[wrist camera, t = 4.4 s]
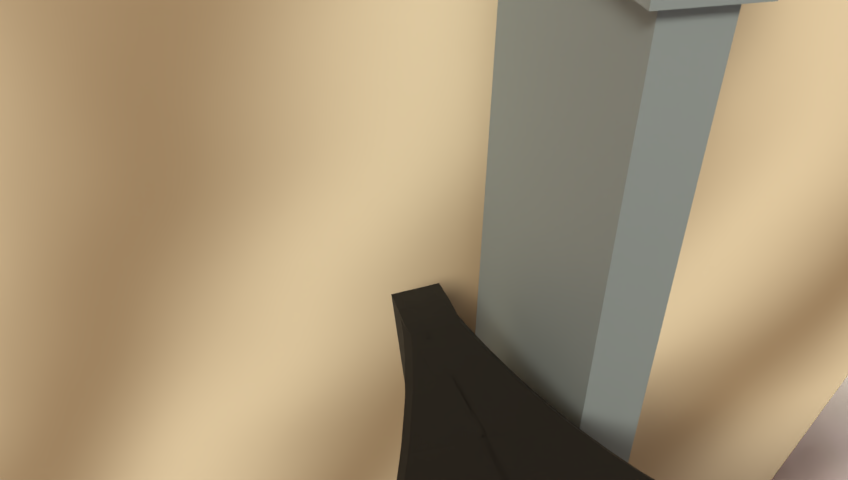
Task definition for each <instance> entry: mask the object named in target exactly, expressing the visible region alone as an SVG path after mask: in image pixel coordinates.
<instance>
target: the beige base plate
mask: <svg viewBox="0 0 848 480" xmlns="http://www.w3.org/2000/svg"><path fill="white" fill-rule="evenodd" d="M497 7H498V0H0V480H397V473H398V466H399V459H400V451H401V441H402V429H403V416H404V404H405V382H404V375H403V368H402V362H401V355H400V349H399V342H398V336H397V329H396V322H395V316H394V309H393V303H392V296H391V294H395V293H399V292H403V291H408V290H412V289H416V288H420V287H424V286H429V285H433V284H437V283H439V284H440V285H441V287H442V288H443V290H444V292H445V293H446V295H447V296H448V298H449V300H450V301H451V303H452V305H453V307H454V309H455V310H456V312H457V315H458V316H459V317H460V318H461V319H462V320H463V321H464V322H465V324H466V325H467V326H468V327H469V328H470V329H471V330H472V331H473V332H474V333H475V330H476V315H477V300H478V286H479V271H480V256H481V242H482V227H483V212H484V198H485V183H486V168H487V154H488V139H489V124H490V110H491V95H492V80H493V66H494V51H495V36H496V22H497ZM847 375H848V0H778V1H773V2H761V3H748V4H741V9H740V13H739V17H738V21H737V25H736V29H735V33H734V37H733V41H732V45H731V49H730V53H729V57H728V61H727V65H726V69H725V73H724V77H723V81H722V85H721V89H720V93H719V97H718V101H717V106H716V110H715V114H714V118H713V122H712V126H711V130H710V134H709V138H708V142H707V146H706V150H705V154H704V158H703V162H702V166H701V170H700V174H699V178H698V182H697V186H696V190H695V194H694V198H693V202H692V207H691V211H690V215H689V219H688V223H687V227H686V231H685V235H684V239H683V243H682V247H681V251H680V255H679V259H678V263H677V267H676V271H675V275H674V279H673V283H672V287H671V291H670V295H669V299H668V303H667V308H666V312H665V316H664V320H663V324H662V328H661V332H660V336H659V340H658V344H657V348H656V352H655V356H654V360H653V364H652V368H651V372H650V376H649V380H648V384H647V388H646V392H645V396H644V400H643V404H642V409H641V413H640V417H639V421H638V425H637V429H636V433H635V437H634V441H633V445H632V449H631V453H630V457H629V461H628V463H629V464H631V465H632V466H634V467H635V468H637V469H638V470H640V471H641V472H643V473H644V474H646V475H648V476H650V477H651V478H653V479H655V480H772V478H773V477H774V475H775V474H776V473H777V471H778V470H779V469H780V467H781V466H782V464H783V463H784V462H785V460H786V459H787V458H788V456H789V455H790V453H791V452H792V451H793V449H794V448H795V447H796V445H797V444H798V443H799V441H800V440H801V438H802V437H803V436H804V434H805V433H806V432H807V430H808V429H809V427H810V426H811V425H812V423H813V422H814V421H815V419H816V418H817V416H818V415H819V414H820V412H821V411H822V410H823V408H824V407H825V405H826V404H827V403H828V401H829V400H830V399H831V397H832V396H833V394H834V393H835V392H836V390H837V389H838V388H839V386H840V385H841V384H842V382H843V381H844V379H845V378H846V377H847Z"/></svg>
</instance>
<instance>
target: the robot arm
mask: <svg viewBox="0 0 848 480" xmlns="http://www.w3.org/2000/svg"><path fill="white" fill-rule="evenodd" d="M391 296H392V303H393V309H394V316H395V322H396V329H397V336H398V342H399V349H400V355H401V362H402V368H403V375H404V382H405V404H404V416H403V429H402V441H401V451H400V459H399V466H398V473H397V480H655V479H653V478H651V477H650V476H648V475H646V474H644V473H643V472H641V471H640V470H638V469H637V468H635V467H634V466H632V465H631V464H629V463H628V462H626V461H625V460H623V459H622V458H620V457H619V456H617V455H616V454H614V453H613V452H611V451H610V450H608V449H607V448H606V447H604V446H603V445H601V444H600V443H599V442H597V441H596V440H595V439H593V438H592V437H590V436H589V435H588V434H586V433H585V432H584V431H582V430H581V429H580V428H578V427H577V426H576V425H574V424H573V423H572V422H571V421H569V420H568V419H567V418H566V417H564V416H563V415H562V414H561V413H559V412H558V411H557V410H556V409H554V408H553V407H552V406H551V405H550V404H549V403H547V402H546V401H545V400H544V399H543V398H542V397H540V396H539V395H538V394H537V393H536V392H534V391H533V390H532V389H531V388H530V387H529V386H528V385H527V384H526V383H524V382H523V381H522V380H521V379H520V378H519V377H518V376H517V375H516V374H515V373H514V372H513V371H512V370H511V369H509V368H508V367H507V366H506V365H505V364H504V363H503V362H502V361H501V360H500V359H499V358H498V357H497V356H496V355H495V354H494V353H493V352H492V351H491V350H490V349H489V348H488V347H487V346H486V345H485V344H484V343H483V342H482V341H481V340H480V339H479V338H478V337H477V336H476V334H475V333H474V332H473V331H472V330H471V329H470V328H469V327H468V326H467V325H466V324H465V322H464V321H463V320H462V319H461V318H460V317H459V316H458V315H457V312H456V310H455V309H454V307H453V305H452V303H451V301H450V300H449V298H448V296H447V295H446V293H445V292H444V290H443V288H442V287H441V285H440V284H439V283H437V284H433V285H429V286H424V287H420V288H416V289H412V290H408V291H403V292H399V293H395V294H391Z"/></svg>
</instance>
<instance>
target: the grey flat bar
mask: <svg viewBox="0 0 848 480" xmlns="http://www.w3.org/2000/svg"><path fill="white" fill-rule="evenodd" d="M773 1H778V0H498V7H497V22H496V36H495V51H494V66H493V80H492V95H491V110H490V124H489V139H488V154H487V168H486V183H485V198H484V212H483V227H482V242H481V256H480V271H479V286H478V300H477V315H476V330H475V334H476V336H477V337H478V338H479V339H480V340H481V341H482V342H483V343H484V344H485V345H486V346H487V347H488V348H489V349H490V350H491V351H492V352H493V353H494V354H495V355H496V356H497V357H498V358H499V359H500V360H501V361H502V362H503V363H504V364H505V365H506V366H507V367H508V368H509V369H511V370H512V371H513V372H514V373H515V374H516V375H517V376H518V377H519V378H520V379H521V380H522V381H523V382H524V383H526V384H527V385H528V386H529V387H530V388H531V389H532V390H533V391H534V392H536V393H537V394H538V395H539V396H540V397H542V398H543V399H544V400H545V401H546V402H547V403H549V404H550V405H551V406H552V407H553V408H554V409H556V410H557V411H558V412H559V413H561V414H562V415H563V416H564V417H566V418H567V419H568V420H569V421H571V422H572V423H573V424H574V425H576V426H577V427H578V428H580V429H581V430H582V431H584V432H585V433H586V434H588V435H589V436H590V437H592V438H593V439H595V440H596V441H597V442H599V443H600V444H601V445H603V446H604V447H606V448H607V449H608V450H610V451H611V452H613V453H614V454H616V455H617V456H619V457H620V458H622V459H623V460H625V461H626V462H628V461H629V457H630V453H631V449H632V445H633V441H634V437H635V433H636V429H637V425H638V421H639V417H640V413H641V409H642V404H643V400H644V396H645V392H646V388H647V384H648V380H649V376H650V372H651V368H652V364H653V360H654V356H655V352H656V348H657V344H658V340H659V336H660V332H661V328H662V324H663V320H664V316H665V312H666V308H667V303H668V299H669V295H670V291H671V287H672V283H673V279H674V275H675V271H676V267H677V263H678V259H679V255H680V251H681V247H682V243H683V239H684V235H685V231H686V227H687V223H688V219H689V215H690V211H691V207H692V202H693V198H694V194H695V190H696V186H697V182H698V178H699V174H700V170H701V166H702V162H703V158H704V154H705V150H706V146H707V142H708V138H709V134H710V130H711V126H712V122H713V118H714V114H715V110H716V106H717V101H718V97H719V93H720V89H721V85H722V81H723V77H724V73H725V69H726V65H727V61H728V57H729V53H730V49H731V45H732V41H733V37H734V33H735V29H736V25H737V21H738V17H739V13H740V9H741V4H748V3H761V2H773Z"/></svg>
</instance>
